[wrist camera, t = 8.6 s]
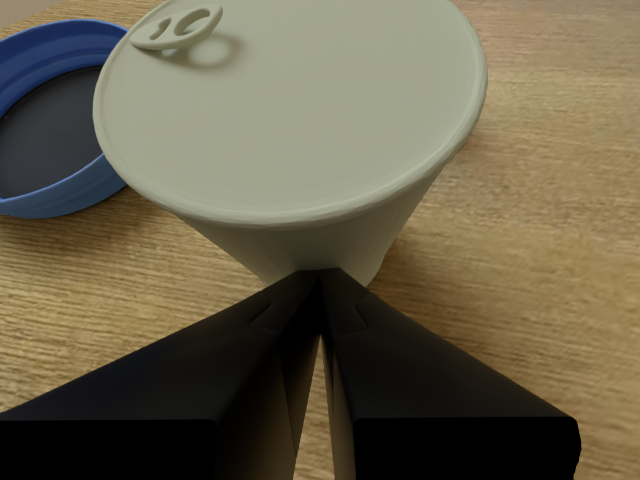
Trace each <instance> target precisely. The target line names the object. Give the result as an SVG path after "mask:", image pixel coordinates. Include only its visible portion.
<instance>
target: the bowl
mask: <svg viewBox="0 0 640 480" xmlns="http://www.w3.org/2000/svg"><path fill="white" fill-rule="evenodd" d="M128 31H129V30H128V29H126V28H124V27H121V26H119V25H117V24H113V23H110V22H106V21H100V20H93V19H71V20H63V21H57V22H52V23H47V24H43V25H39V26H36V27H33V28H30V29H27V30H24V31H21V32H18V33H16V34H13V35H11V36H9V37H6V38H4V39H2V40H0V215H9V216H13V217H19V218H30V219H38V218H50V217H56V216H61V215H66V214H70V213H73V212H76V211H79V210H82V209H85V208H87V207H90V206H92V205H94V204H96V203H98V202H100V201H102V200H104V199H106V198H108V197H110V196H111V195H113V194H115V193H116V192H117V191H119V190H120V189H122V188H123V187H124V186H126V185H127V183H126V182H125V181H124V180H123V179H122V178H121V177H120V176H119V175H118V174H117V172H116V171H115V170H114V168H113V167H112V166H111V164H110V163H109V161H108V160H107V159H106V157H105V155H104V153H103V151H102V149H101V147H100V145H99V142H98V139H97V136H96V133H95V127H94V121H93V99H94V93H95V88H96V84H97V81H98V79H99V76H100V73H101V70H102V68H103V66H104V64H105V62H106V60H107V59H108V57H109V55H110V54H111V52H112V51H113V49H114V48H115V46H116V45H117V44H118V42H119V41H120V40H121V39H122V38H123V37H124V36H125V34H126V33H127V32H128Z"/></svg>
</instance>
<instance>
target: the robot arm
mask: <svg viewBox="0 0 640 480" xmlns="http://www.w3.org/2000/svg"><path fill="white" fill-rule="evenodd" d="M320 335H321V341H322V352H323V362H324V372H325V382H326V393H327V403H328V413H329V423H330V433H331V444H332V454H333V464H334V475H335V480H574V476H573V475H574V473H575V470H576V466H577V464H578V462H579V456H580V453H581V439H580V434H579V429H578V424H577V421H576V420H575V419H574V418H572V417H571V416H569V415H567V414H566V413H564V412H563V411H561V410H559V409H558V408H556V407H554V406H553V405H551V404H550V403H548V402H546V401H545V400H543V399H541V398H540V397H538V396H536V395H535V394H533V393H532V392H530V391H528V390H527V389H525V388H523V387H522V386H520V385H518V384H517V383H515V382H514V381H512V380H510V379H509V378H507V377H505V376H504V375H502V374H500V373H499V372H497V371H496V370H494V369H492V368H491V367H489V366H487V365H486V364H484V363H483V362H481V361H479V360H478V359H476V358H474V357H473V356H471V355H469V354H468V353H466V352H465V351H463V350H461V349H460V348H458V347H456V346H455V345H453V344H451V343H450V342H448V341H447V340H445V339H443V338H442V337H440V336H438V335H437V334H435V333H434V332H432V331H430V330H429V329H427V328H425V327H424V326H422V325H420V324H419V323H417V322H416V321H414V320H412V319H411V318H409V317H407V316H406V315H404V314H403V313H401V312H399V311H398V310H396V309H395V308H393V307H392V306H390V305H389V304H387V303H386V302H384V301H383V300H382V299H380V298H379V297H378V296H376V295H375V294H374V293H372V292H371V291H369V290H368V289H367V288H365V287H364V286H363V285H362V284H360V283H359V282H358V281H357V280H355V279H354V278H353V277H351V276H350V275H349V274H348V273H346V272H345V271H344V270H342V269H341V268H340V267H338V268H331V269H321V270H301V271H295V272H293V273H291V274H289V275H288V276H286V277H284V278H282V279H281V280H279V281H277V282H275V283H274V284H272V285H270V286H268V287H267V288H265V289H263V290H262V291H259V292H257V293H255V294H253V295H252V296H250V297H248V298H246V299H244V300H242V301H240V302H239V303H236V304H234V305H232V306H230V307H228V308H226V309H224V310H222V311H220V312H218V313H216V314H213V315H211V316H209V317H207V318H205V319H203V320H201V321H198V322H196V323H194V324H192V325H190V326H188V327H186V328H184V329H181V330H179V331H177V332H175V333H173V334H171V335H169V336H166V337H164V338H162V339H160V340H158V341H156V342H154V343H151V344H149V345H147V346H145V347H143V348H141V349H139V350H136V351H134V352H132V353H130V354H128V355H126V356H124V357H121V358H119V359H117V360H115V361H113V362H111V363H109V364H106V365H104V366H102V367H100V368H98V369H96V370H94V371H91V372H89V373H87V374H85V375H83V376H81V377H79V378H76V379H74V380H72V381H70V382H68V383H66V384H64V385H61V386H59V387H57V388H55V389H53V390H51V391H49V392H46V393H44V394H42V395H40V396H38V397H36V398H34V399H31V400H29V401H27V402H25V403H23V404H21V405H18V406H16V407H14V408H11V409H9V410H7V411H4V412H1V413H0V480H293V475H294V469H295V464H296V458H297V454H298V448H299V443H300V438H301V433H302V428H303V423H304V417H305V412H306V407H307V402H308V397H309V392H310V387H311V381H312V376H313V371H314V366H315V361H316V356H317V351H318V345H319V340H320Z"/></svg>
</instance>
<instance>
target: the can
mask: <svg viewBox="0 0 640 480" xmlns="http://www.w3.org/2000/svg"><path fill="white" fill-rule="evenodd" d="M487 85H488V71H487V61H486V55H485V52H484V49H483V46H482V43H481V40H480V37H479V35H478V34H477V32H476V30H475V29H474V27H473V25H472V24H471V22H470V21H469V20H468V18H467V17H466V16H465V15H464V13H463V12H462V11H461V10H460V9H459V8H458V7H457V6H456V5H455V4H454V3H452V2H451V1H450V0H166V1H165V2H163V3H162V4H160V5H159V6H157V7H156V8H154V9H153V10H152V11H150V12H149V13H148V14H146V15H145V16H144V17H143V18H142V19H140V20H139V21H138V22H137V23H136V24H135V25H134V26H133V27H132V28H131V29H130V30H129V31H128V32H127V33H126V34H125V36H124V37H123V38H122V39H121V40H120V41H119V42H118V44H117V45H116V46H115V48H114V49H113V51H112V52H111V54H110V55H109V57H108V59H107V60H106V62H105V64H104V66H103V68H102V70H101V73H100V76H99V79H98V81H97V84H96V88H95V93H94V99H93V121H94V127H95V133H96V136H97V139H98V142H99V145H100V147H101V149H102V151H103V153H104V155H105V157H106V159H107V160H108V161H109V163H110V164H111V166H112V167H113V168H114V170H115V171H116V172H117V174H118V175H119V176H120V177H121V178H122V179H123V180H124V181H125V182H126V183H127V184H128V185H129V186H130V187H131V188H132V189H134V190H135V191H136V192H137V193H138V194H139V195H141V196H142V197H144V198H146V199H147V200H149V201H150V202H152V203H153V204H155V205H156V206H158V207H160V208H162V209H164V210H166V211H167V212H170V213H172V214H174V215H176V216H177V217H178V218H180V219H181V220H183V221H184V222H185V223H187V224H188V225H189V226H191V227H192V228H194V229H195V230H196V231H198V232H199V233H201V234H202V235H203V236H205V237H206V238H207V239H209V240H210V241H212V242H213V243H214V244H216V245H217V246H218V247H220V248H221V249H223V250H224V251H225V252H227V253H228V254H229V255H231V256H232V257H233V258H235V259H236V260H237V261H238V262H240V263H241V264H242V265H244V266H245V267H246V268H248V269H249V270H250V271H252V272H253V273H254V274H255V275H257V276H258V277H259V278H260V279H261V280H262V282H263V283H264V284H265V285H266V286H267V287H268V286H270V285H272V284H274V283H275V282H277V281H279V280H281V279H282V278H284V277H286V276H288V275H289V274H291V273H293V272H295V271H301V270H321V269H331V268H338V267H340V268H341V269H342V270H344V271H345V272H346V273H348V274H349V275H350V276H351V277H353V278H354V279H355V280H357V281H358V282H359V283H360V284H362V285H363V286H364V287H366V286H367V285H368V284H369V283H370V282H371V281H372V280H373V278H374V277H375V276H376V274H377V272H378V271H379V269H380V267H381V264H382V262H383V259H384V256H385V254H386V253H387V251H388V249H389V248H390V246H391V245H392V243H393V242H394V240H395V239H396V237H397V235H398V234H399V232H400V231H401V229H402V228H403V226H404V224H405V223H406V221H407V220H408V219H409V217H410V216H411V214H412V213H413V211H414V210H415V208H416V207H417V205H418V204H419V202H420V201H421V199H422V198H423V196H424V195H425V193H426V192H427V190H428V189H429V187H430V186H431V185H432V183H433V182H434V180H435V179H436V177H437V176H438V174H439V173H440V172H441V170H442V169H443V167H444V166H445V165H446V164H447V163H448V162H449V161H450V160H451V159H452V158H453V157H454V156H455V155H456V153H457V152H458V151H459V150H460V149H461V148H462V146H463V145H464V143H465V142H466V140H467V139H468V137H469V136H470V134H471V132H472V130H473V129H474V127H475V125H476V123H477V121H478V119H479V116H480V114H481V111H482V108H483V105H484V102H485V97H486V91H487Z"/></svg>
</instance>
